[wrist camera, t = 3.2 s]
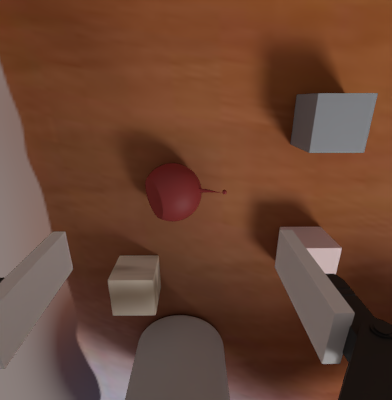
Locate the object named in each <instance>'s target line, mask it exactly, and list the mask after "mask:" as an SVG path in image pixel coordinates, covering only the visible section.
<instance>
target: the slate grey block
mask: <svg viewBox="0 0 392 400" xmlns="http://www.w3.org/2000/svg"><path fill="white" fill-rule="evenodd" d="M377 95H378V93H314V94H298V95H297V97H296V105H295V113H294V120H293V128H292V136H291V145H293V146H295V147H298V148H300V149H302V150H304V151H306V152H309V153H364V151H365V146H366V142H367V138H368V133H369V129H370V125H371V120H372V116H373V112H374V107H375V103H376V99H377Z"/></svg>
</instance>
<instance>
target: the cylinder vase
mask: <svg viewBox="0 0 392 400" xmlns="http://www.w3.org/2000/svg"><path fill="white" fill-rule="evenodd" d="M125 400H230V396H229V388H228V380H227V371H226V363H225V354H224V346H223V341H222V339H221V336H220V335H219V333H218V332H217V330H216V329H215V328H214V327H213V326H212V325H210V324H209V323H207V322H206V321H204V320H202V319H199V318H196V317H193V316H187V315H173V316H168V317H164V318H161V319H159V320H157V321H155V322H153V323H152V324H151V325H149V326H148V327H147V328H146V329H145V330H144V332H143V333H142V335H141V337H140V339H139V342H138V346H137V350H136V355H135V359H134V363H133V368H132V372H131V376H130V380H129V385H128V389H127V393H126V398H125Z"/></svg>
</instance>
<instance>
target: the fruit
mask: <svg viewBox="0 0 392 400" xmlns="http://www.w3.org/2000/svg"><path fill="white" fill-rule="evenodd" d="M145 187H146V193H147V197H148V201H149V203H150V206H151V208H152V210H153V212H154V213H155V215H156V216H157V217H158V218H160V219H162V220H166V221H179V220H182V219H185V218H187V217H188V216H190V215H191V214H192V213H193V212H194V211H195V210H196V209H197V207H198V205H199V203H200V200H201V192H216V191H212V190H208V189H201V185H200V182H199V180H198V178H197V176H196V175H195V173H194V172H193V171H192V170H190V169H189V168H187V167H186V166H184V165H181V164H177V163H168V164H164V165H161V166H159V167H157V168H156V169H154V170H153V171H152V172H151V173H150V174H149V175H148V177H147V179H146V182H145ZM217 193H221V192H217ZM222 193H223V194H226V193H227V191H226V190H223V192H222Z"/></svg>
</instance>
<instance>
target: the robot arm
mask: <svg viewBox="0 0 392 400" xmlns="http://www.w3.org/2000/svg"><path fill="white" fill-rule="evenodd" d="M275 269H276V271H277V273H278V275H279V277H280V279H281V281H282V283H283V285H284V287H285V289H286V291H287V293H288V295H289V297H290V299H291V302H292V304H293V306H294V308H295V310H296V312H297V314H298V316H299V318H300V320H301V322H302V324H303V326H304V328H305V330H306V332H307V334H308V336H309V339H310V341H311V343H312V345H313V347H314V349H315V351H316V353H317V355H318V357H319V359H320V361H321V363H322V364H340V362H341V359H342V356H343V354H344V356H345V357H346V359H347V361H348V362H349V364H348V367H347V370H346V373H345V376H344V380H343V384H342V388H341V391H340V395H339V398H338V400H392V325H391V324H389V323H387V322H385V321H383V320H380V319H377V318H375V317H374V316H373V315H372V314H371V312H370V311H369V310H368V309H367V308H366V306H365V305H364V304H363V303H362V302H361V300H360V299H359V298H358V297H357V296H356V295H355V293H354V292H353V291H352V289H350V287H349V286H348V285H347V283H346V282H345V281H344V280H343V279H341V278H340V277H338V276H337V275H336V274H325V273H324V271H323V270H322V269H321V267H320V266H319V265H318V263H317V262H316V261H315V259H314V258H313V257H312V255H311V254H310V253H309V252H308V250H307V249H306V248H305V246H304V245H303V244H302V242H301V241H300V240H299V238H298V237H297V236H296V234H295V233H294V232H293V230H280V232H279V239H278V246H277V254H276V261H275ZM72 270H73V265H72V261H71V256H70V251H69V247H68V242H67V237H66V232H52V233H51V234H50V235H49V236H48V237H47V238H46V239H45V240H44V241H42V243H40V244H39V245H38V247H36V248H35V249H34V250H33V251H32V252H31V253H30V254H29V255H28V256H27V257H26V258H25V259H24V260H23V261H22V262H21V263H20V264H19V265H18V266H17V267H16V268H15V269H14V270H13V271H12V272H11V273H10V274H9V275H8V276H7V277H6V278H0V369H5V368H6V366H7V365H8V364H9V362H10V360H11V359H12V358H13V356H14V355H15V353H16V352H17V350H18V349H19V348H20V346H21V345H22V343H23V342H24V340H25V338H26V337H27V336H28V334H29V333H30V331H31V330H32V329H33V327H34V326H35V324H36V323H37V321H38V320H39V318H40V317H41V315H42V314H43V313H44V311H45V310H46V308H47V307H48V305H49V304H50V302H51V301H52V299H53V298H54V296H55V295H56V293H57V292H58V290H59V289H60V288H61V286H62V285H63V283H64V282H65V280H66V279H67V278H68V276H69V275H70V273H71V272H72Z"/></svg>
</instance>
